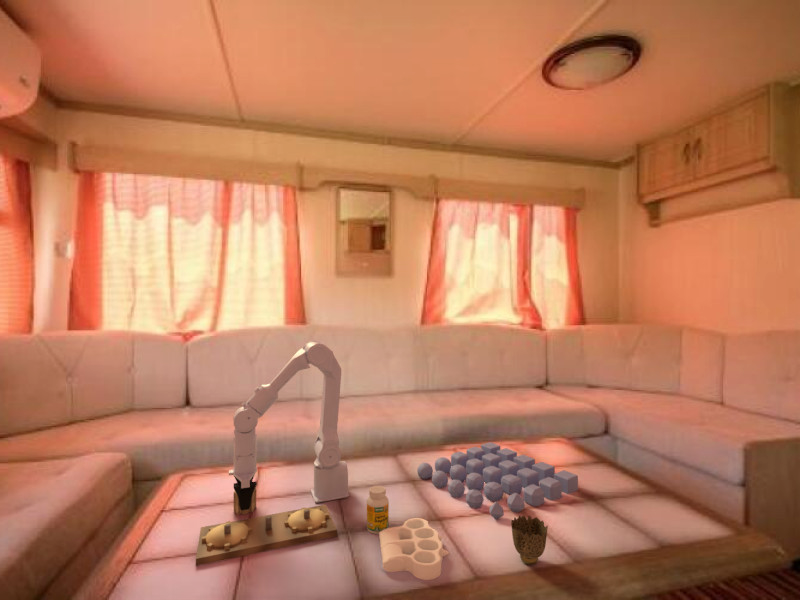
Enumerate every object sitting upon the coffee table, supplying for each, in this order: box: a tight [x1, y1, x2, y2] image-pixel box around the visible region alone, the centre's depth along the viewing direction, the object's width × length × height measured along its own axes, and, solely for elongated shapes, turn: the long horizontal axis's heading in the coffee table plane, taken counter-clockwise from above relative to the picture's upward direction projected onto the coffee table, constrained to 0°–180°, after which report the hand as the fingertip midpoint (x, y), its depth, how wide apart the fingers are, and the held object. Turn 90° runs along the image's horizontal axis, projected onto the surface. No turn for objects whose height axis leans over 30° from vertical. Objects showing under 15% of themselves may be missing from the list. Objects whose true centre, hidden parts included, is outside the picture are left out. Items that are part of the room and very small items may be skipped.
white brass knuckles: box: [378, 517, 450, 581], centre depth 90 cm, size 3×18×15 cm
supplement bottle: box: [366, 485, 390, 535], centre depth 100 cm, size 5×5×10 cm
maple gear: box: [233, 487, 257, 515], centre depth 109 cm, size 6×6×5 cm
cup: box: [510, 515, 548, 566], centre depth 87 cm, size 8×7×8 cm
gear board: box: [195, 504, 338, 567], centre depth 97 cm, size 30×13×4 cm, turn 112°
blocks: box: [416, 442, 579, 520], centre depth 126 cm, size 35×34×5 cm
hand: (244, 503), depth 109 cm, fingers closed on maple gear, 6 cm apart
